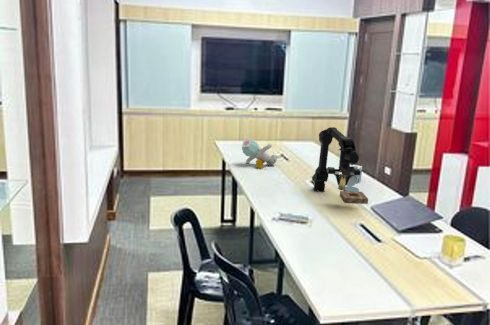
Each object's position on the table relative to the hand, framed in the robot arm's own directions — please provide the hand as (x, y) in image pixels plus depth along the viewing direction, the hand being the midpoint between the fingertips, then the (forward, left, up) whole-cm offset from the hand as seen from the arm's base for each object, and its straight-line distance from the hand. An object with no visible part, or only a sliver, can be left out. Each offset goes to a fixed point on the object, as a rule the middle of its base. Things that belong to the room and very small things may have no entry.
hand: (342, 185), depth 266 cm
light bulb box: (+22, +52, -12) cm, 58 cm away
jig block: (+11, +11, -12) cm, 20 cm away
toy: (-45, +82, -12) cm, 94 cm away
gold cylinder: (0, 0, -2) cm, 2 cm away
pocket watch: (+14, +29, -13) cm, 34 cm away
